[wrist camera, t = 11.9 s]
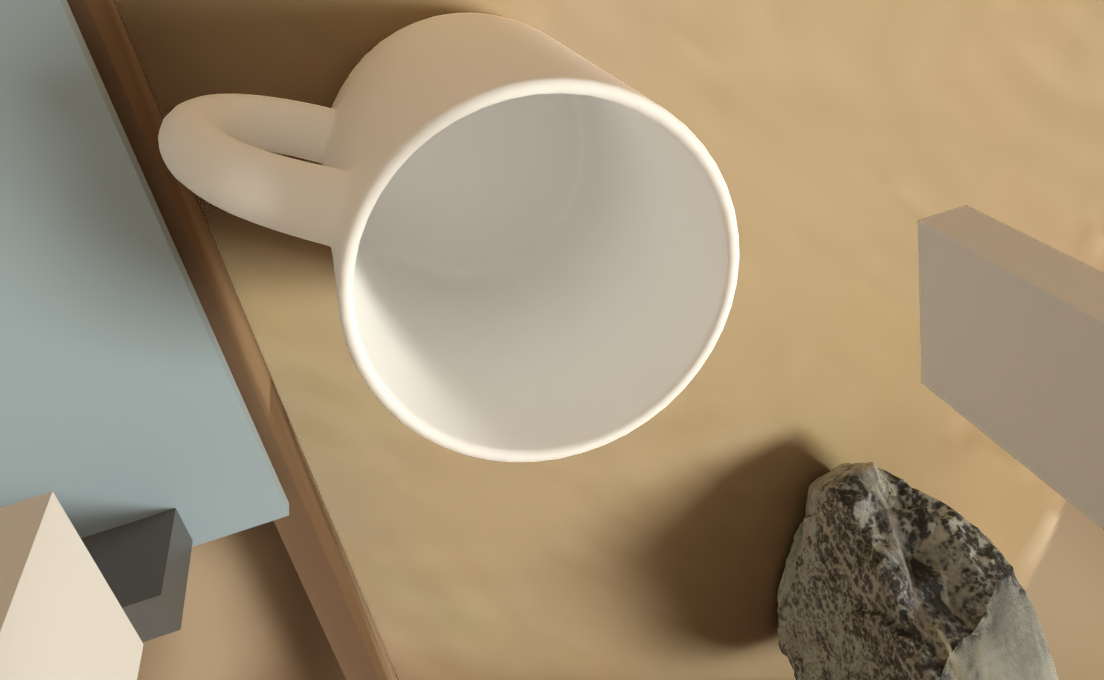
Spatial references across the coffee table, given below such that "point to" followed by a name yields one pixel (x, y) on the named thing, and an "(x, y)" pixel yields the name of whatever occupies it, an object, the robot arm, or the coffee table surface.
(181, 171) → the mug
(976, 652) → the stone
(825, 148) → the coffee table surface
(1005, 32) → the coffee table surface
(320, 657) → the brown wooden frame
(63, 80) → the lid
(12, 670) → the robot arm
